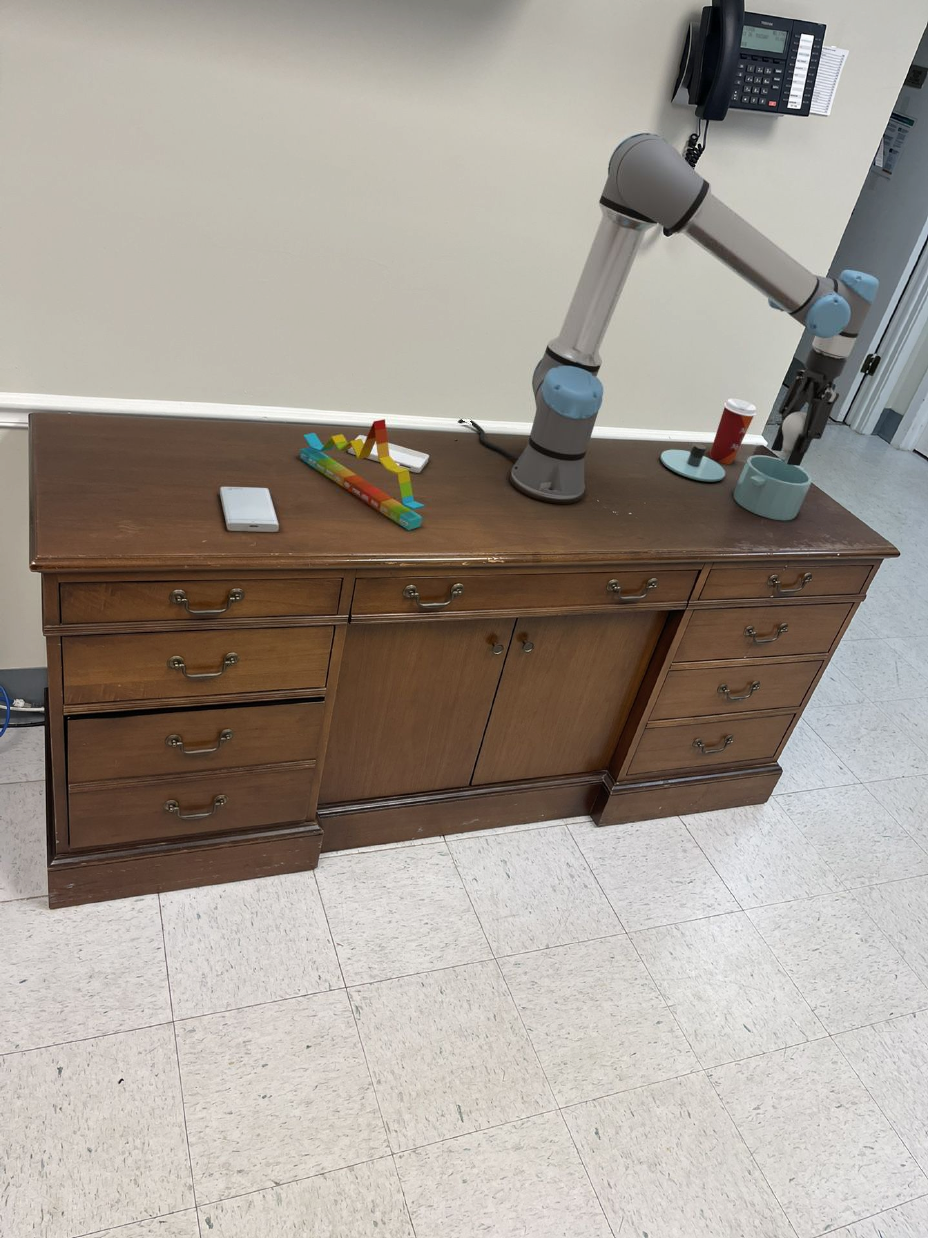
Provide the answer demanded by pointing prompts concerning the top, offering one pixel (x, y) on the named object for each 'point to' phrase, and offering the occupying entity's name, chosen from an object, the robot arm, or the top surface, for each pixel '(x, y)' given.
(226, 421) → the top surface
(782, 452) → the lightbulb
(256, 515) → the hard drive
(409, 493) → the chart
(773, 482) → the pot
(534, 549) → the top surface
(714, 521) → the top surface
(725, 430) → the paper cup
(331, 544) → the top surface
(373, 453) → the phone case
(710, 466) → the lid
